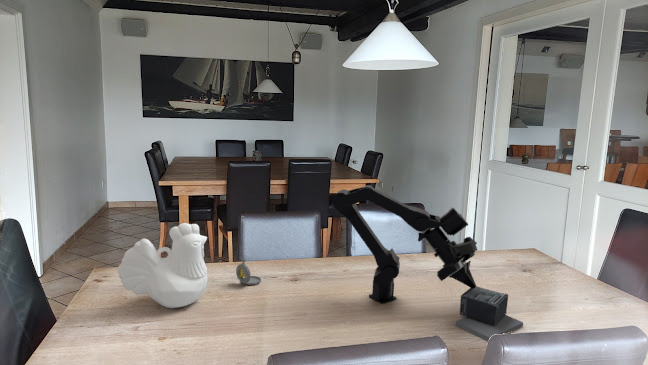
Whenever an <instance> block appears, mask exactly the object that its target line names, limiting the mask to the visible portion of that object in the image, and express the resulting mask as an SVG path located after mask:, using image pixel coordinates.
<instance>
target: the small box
mask: <svg viewBox="0 0 648 365" xmlns="http://www.w3.org/2000/svg"><path fill="white" fill-rule="evenodd" d="M508 301H509V294H508V293H502V292H499V291H495V290H491V289H489V288H488V289H487V288H484V287H480V286H477V285H476V288H474V289H472V288H470V287H469V289H467V290H466V291H465V292H463V293H462V294H461V295H460V303H459V304H460V305H459V315H460V316H462V317H464V318H465V317H469V318H472V319H475V320H479V321H482V322H485V323H488V324H492V325H494V326H495V325H496V324H497V323H498V322H499V321H500V320H501V319H502V318H503V316H504V315H507V308H508Z"/></svg>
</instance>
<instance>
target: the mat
mask: <svg viewBox="0 0 648 365" xmlns="http://www.w3.org/2000/svg"><path fill="white" fill-rule="evenodd" d="M454 325H455V326H456V327H458V328H461V329H462V330H464V331H466V332H469V333H470V334H472V335H474V336H477V337H478V338H480V339H482V340H485V341H486V342H488V340H489V338H490V337H491V336H492V335H494V334H503V333H508V332H510V333H512V332H514V331H515V330H518V329H520V328H522V327H524V322H523V321H521V320H518V319H516V318H514V317H511V316H510V315H507V314H505V315H504V316H503V318H502V319H501V320H500V321H499V322H498V323H497V324H496V325H495V326H494V325H492V324H488V323H485V322H482V321H479V320H475V319H472V318H469V317H465V316H464V317H462V318H460V319H457V320H456V321H455V324H454ZM511 331H512V332H511ZM508 334H509V333H508Z"/></svg>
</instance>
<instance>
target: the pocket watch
mask: <svg viewBox="0 0 648 365" xmlns="http://www.w3.org/2000/svg"><path fill="white" fill-rule="evenodd" d="M240 260H241V262H242V263H239V264H238V265H237V267H236V268H235V273H236V274H235V275H236V277H237V278H236V279H238V280H239V282H241V284H243V285H246V286H252V285H258V284H260V283H261V281H262V279H261V277H260V276H256V275H252V274H251V270H250V269H249V266H248V265H247V264H245V262H246V261H247V260H246V259H245V258H244V257H243V256H241V257H240Z"/></svg>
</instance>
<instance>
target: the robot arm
mask: <svg viewBox="0 0 648 365" xmlns="http://www.w3.org/2000/svg"><path fill="white" fill-rule="evenodd" d="M363 201H369V202H371V203H373V204H375V205H377V206H379V207H380V208H383V209H384V210H386V211H388V212H389V213H392V214H394V215H395V216H397V217H399V218H401V219H402V220H403V221H404V222H405V223H406V224H407V225H409V226H410V227H411V228H413V229H414V230H415V231H417V232H418V238H417V242H421V241H423V240H425V242H426V243H427V244H428V245H429V246H430V247H431V249H432V250H433V251H434V253H433V255H434V257H435V258H437V257H438V258H439V259H440V260H441V262H442V263H443V265H442V268H440V269H439V270H438V271H437V273H436V274H437V275H436V276H437V278H438V279H439V281H440V282H442V281H444V280H446V279H447V278H449V279H450V278H451V279H454V280H456V281H458V282H460V283H462V284H463V285H465V286H467V287H469V289H470V288H472V289H474V288H476V286H477V284H476V282H475V280H474V277H473V275H472V272H471V269H470V265H471V263H472V261H471V260H470V259H471V258H473V257H475V255H476V253H475V252H476V251H478V247H477V244H478V242H477V241H476V240H475V239H473V238H472V237H471V236H467V237H465V238H463V241H462V242H460V243H457V242H456V241H455V240H452V241H451V240H450V239H449V237H448V236H453V237H454V236H455V235H456V234H458V233H460V232H461V231H462V230H464V229H465V228H466V227H467V226H469V223H468V222H467V220H466V219H465V218H464V217H463V215H462V214H461V213H459V212H458V210H456V208H455V207H451V208H450V209H449V210H448V211H447V212H446V213H445V214H443V215H441V217H440V216H439V215H435V214H430V213H429V212H428V211H427V210H425V209H422V208H420V207H417V206H411V205H408V204H405V203H403V202H401V201H399V200H397V199H395V198H394V197H391V196H390V195H388V194H386V193H384V192H382V191H381V190H378V189H377V188H375V187H373V186H372V185H369V184H368V185H367V184H366V185H365V186H362V187H358V188H354V189H349V190H348V189H339V190H338V191H337V192H336V193H335V194H334V195H333V197H332V198H331V205H332V208H334V209H335V210H336V211H337V213H339V214H340V215H341V216H342V217H344V218H345V219H346V220H348V221H349V222H350V225H351V226H352V227H353V229H354V230H355V232H356V233H357V235H358V236H359V237H360V238H361V240H362V242H363V243H364V244H365V245H366V246H367V248H368V250H369V251H370V252H371V254H372V256H373V257H374V260H375V262H376V266H377V267H376V268H375V271H374V275H373V280H372V290H371V291H372V293H371V294H368V297H369V298H371V299H373V300H375V301H376V302H378V303H380V304H384V303H388V302H392V301H394V300H397V297H396V296H394V293H395V292H394V291H395V282H394V280H395V279H396V278H397V277H398V275H400V267H401V266H400V265H401V262H400V257H399V256H398V255H397V254H396V253H395V250H394V249H393V248H390V250H389V249H387V248H386V247H385V246H384V245H383V243H382V242H381V240H380V239H379V238H378V236H377V235H376V233H375V232H374V231H373V230H372V228H371V227H370V225H369V224H368V222H367V221H366V220H365V218H364V217H363V215H362V214H361V212H360V210H359V207H358V206H357V204H358V203H360V202H363ZM441 228H442V229H441ZM446 234H447V235H446ZM468 260H469V261H468Z"/></svg>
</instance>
